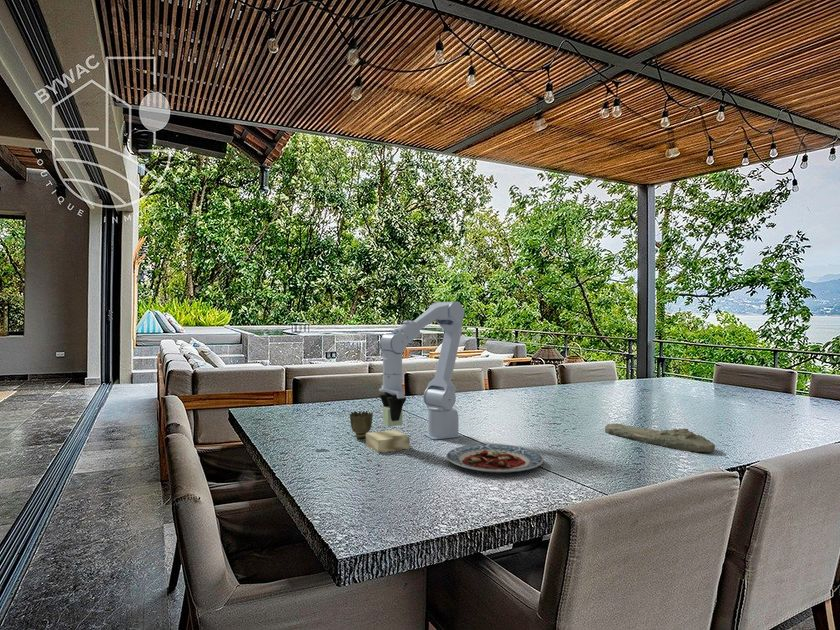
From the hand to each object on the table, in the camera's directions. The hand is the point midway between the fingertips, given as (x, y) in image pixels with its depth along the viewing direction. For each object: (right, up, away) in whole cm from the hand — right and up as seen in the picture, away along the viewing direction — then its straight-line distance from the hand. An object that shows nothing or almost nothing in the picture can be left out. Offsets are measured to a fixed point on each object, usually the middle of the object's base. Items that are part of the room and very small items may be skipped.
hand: (392, 418), depth 158 cm
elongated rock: (+82, -9, +7) cm, 83 cm away
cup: (-11, -9, +12) cm, 18 cm away
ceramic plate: (+28, -9, -16) cm, 34 cm away
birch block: (-1, -9, 0) cm, 9 cm away
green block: (0, -2, 0) cm, 2 cm away
